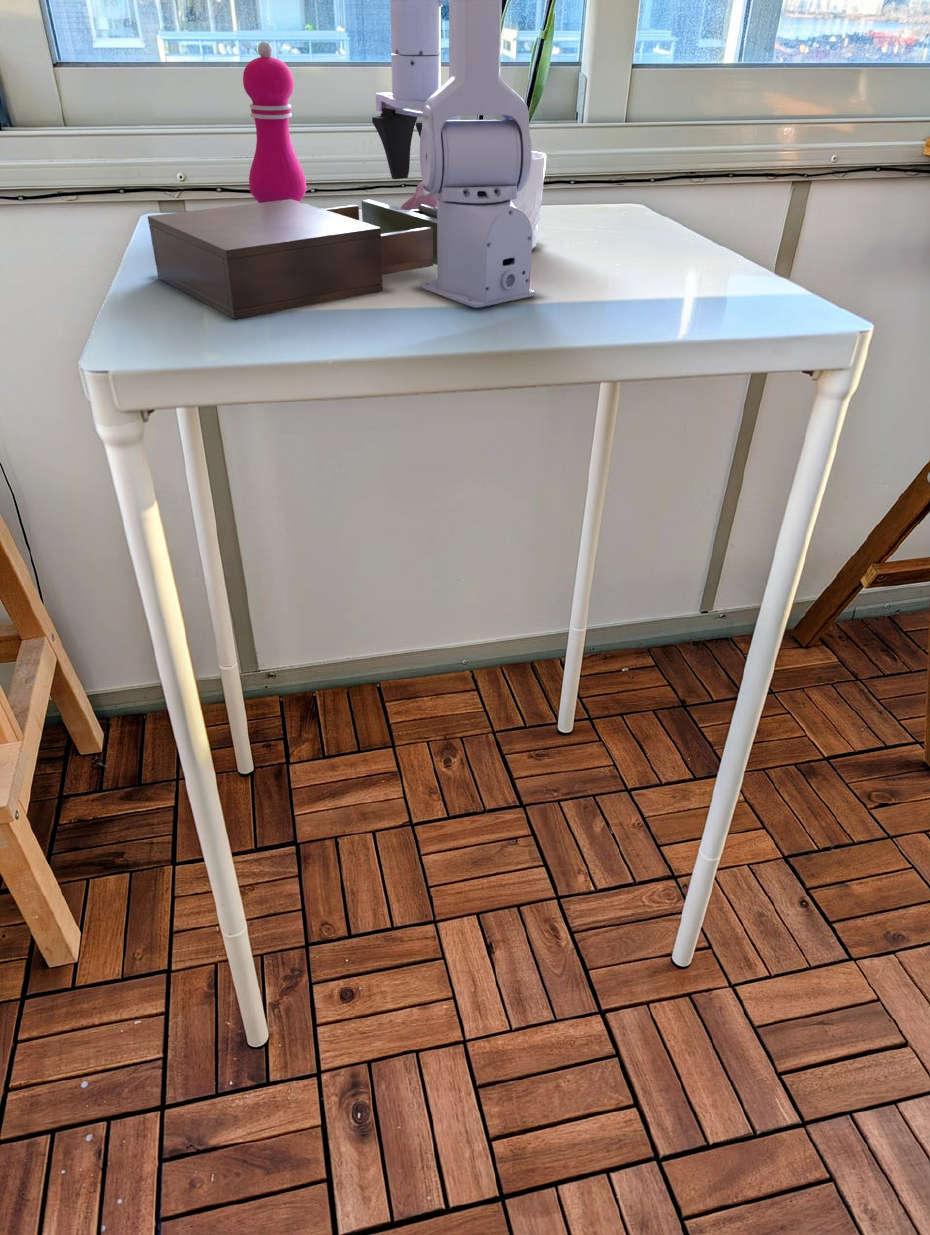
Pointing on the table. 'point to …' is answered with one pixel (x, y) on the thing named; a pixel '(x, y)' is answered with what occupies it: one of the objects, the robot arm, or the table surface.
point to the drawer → (399, 233)
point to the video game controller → (420, 199)
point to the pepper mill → (272, 130)
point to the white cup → (532, 193)
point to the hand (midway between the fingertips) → (417, 183)
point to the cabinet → (266, 256)
